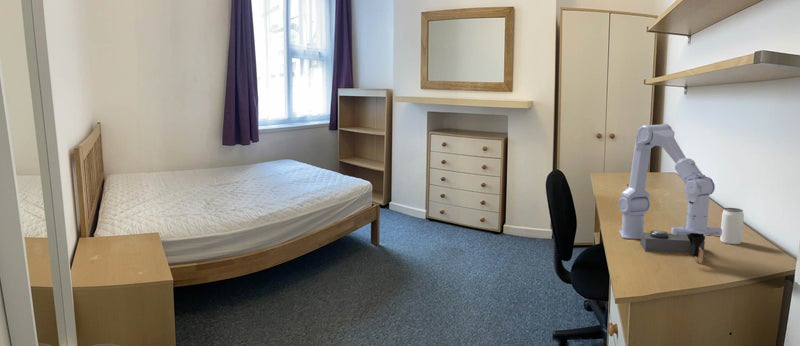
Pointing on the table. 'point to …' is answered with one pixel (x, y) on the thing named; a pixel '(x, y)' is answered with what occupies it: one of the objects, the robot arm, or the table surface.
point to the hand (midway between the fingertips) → (694, 255)
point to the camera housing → (666, 242)
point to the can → (732, 226)
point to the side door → (700, 256)
